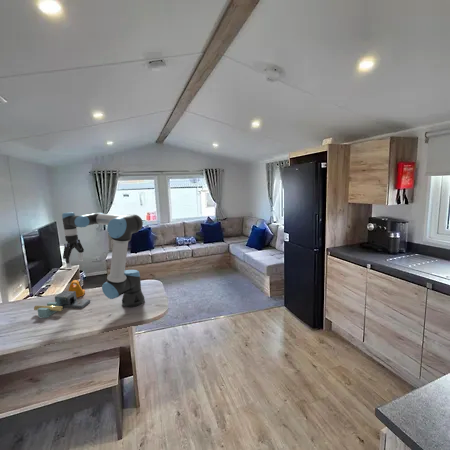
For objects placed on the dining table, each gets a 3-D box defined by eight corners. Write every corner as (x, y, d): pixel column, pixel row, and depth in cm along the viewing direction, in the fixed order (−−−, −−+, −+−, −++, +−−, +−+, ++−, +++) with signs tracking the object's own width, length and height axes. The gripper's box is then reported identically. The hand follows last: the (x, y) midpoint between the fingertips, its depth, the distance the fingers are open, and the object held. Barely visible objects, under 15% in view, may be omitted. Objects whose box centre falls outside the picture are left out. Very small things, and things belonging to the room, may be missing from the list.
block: (90, 302, 191) (88, 291, 189) (82, 308, 182) (80, 297, 181) (65, 301, 193) (63, 291, 191) (56, 307, 184) (54, 296, 182)
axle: (63, 308, 176) (62, 305, 174) (60, 312, 173) (59, 308, 172) (38, 307, 178) (36, 304, 176) (35, 311, 175) (33, 307, 174)
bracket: (85, 292, 207) (83, 277, 205) (83, 296, 201) (81, 281, 198) (69, 294, 204) (67, 279, 202) (67, 298, 197) (65, 283, 195)
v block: (58, 309, 181) (57, 302, 180) (47, 317, 171) (46, 309, 170) (50, 309, 181) (49, 302, 180) (38, 317, 171) (37, 309, 170)
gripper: (76, 231, 198) (80, 259, 201) (53, 239, 173) (58, 270, 177) (86, 231, 197) (90, 258, 201) (64, 238, 173) (69, 270, 176)
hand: (75, 264), depth 189 cm, fingers open, 13 cm apart
